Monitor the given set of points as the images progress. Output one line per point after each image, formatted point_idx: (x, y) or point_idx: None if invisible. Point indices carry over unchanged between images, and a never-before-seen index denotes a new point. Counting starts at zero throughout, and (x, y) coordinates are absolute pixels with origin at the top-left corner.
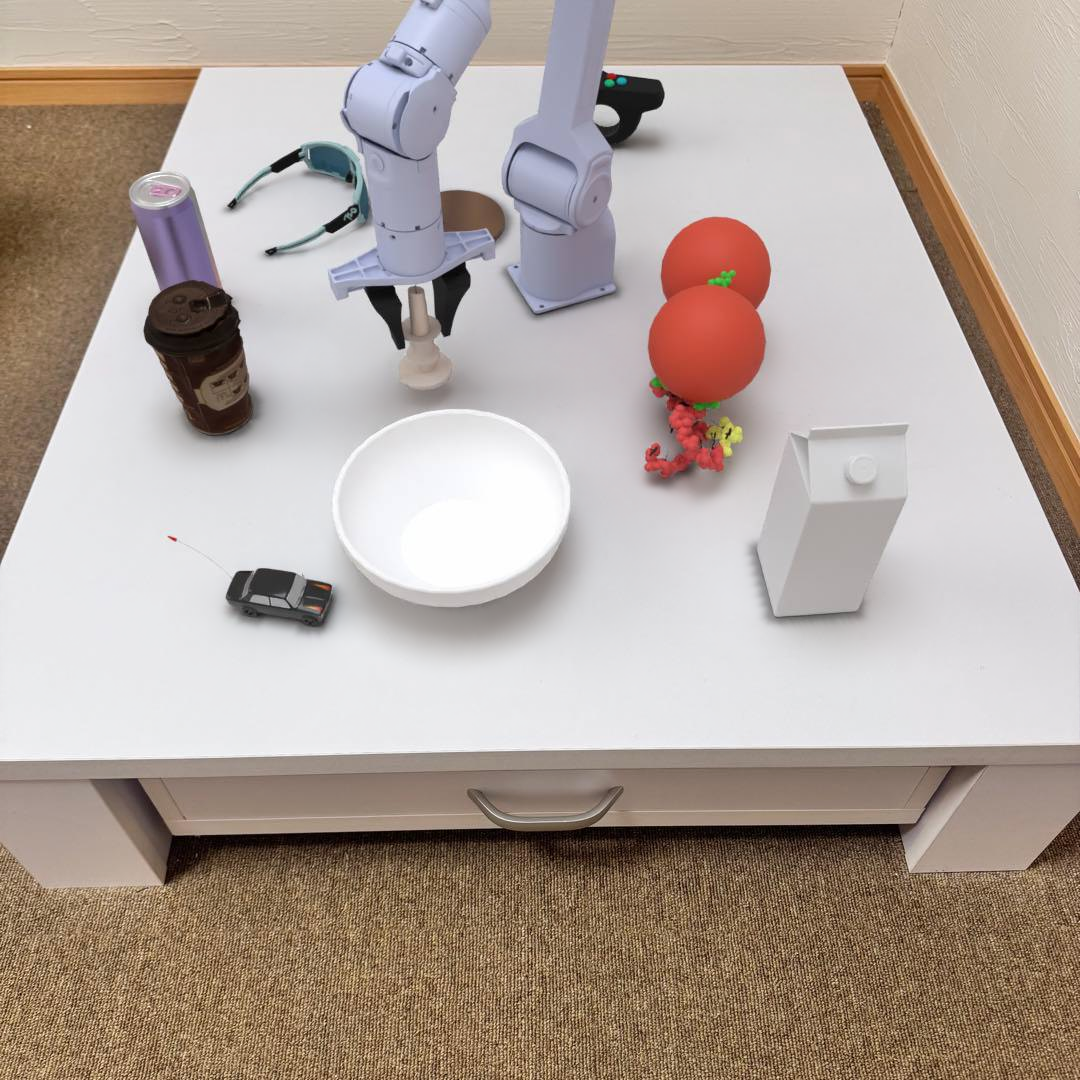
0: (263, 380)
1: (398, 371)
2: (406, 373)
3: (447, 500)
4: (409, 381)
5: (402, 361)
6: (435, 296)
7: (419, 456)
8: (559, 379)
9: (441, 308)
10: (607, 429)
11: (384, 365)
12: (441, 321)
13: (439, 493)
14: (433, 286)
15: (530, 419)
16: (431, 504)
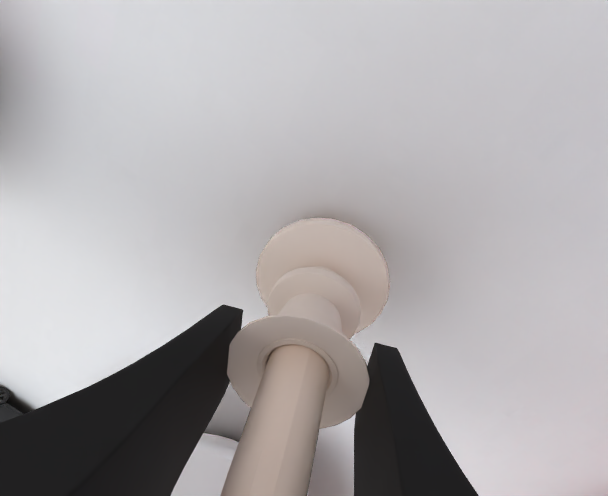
0: (21, 4)
1: (259, 262)
2: (272, 279)
3: (236, 441)
4: (267, 301)
5: (282, 241)
6: (384, 449)
7: (199, 447)
8: (572, 374)
9: (366, 486)
10: (530, 482)
11: (289, 125)
12: (362, 428)
13: (225, 444)
14: (394, 478)
15: (444, 404)
16: (214, 436)
